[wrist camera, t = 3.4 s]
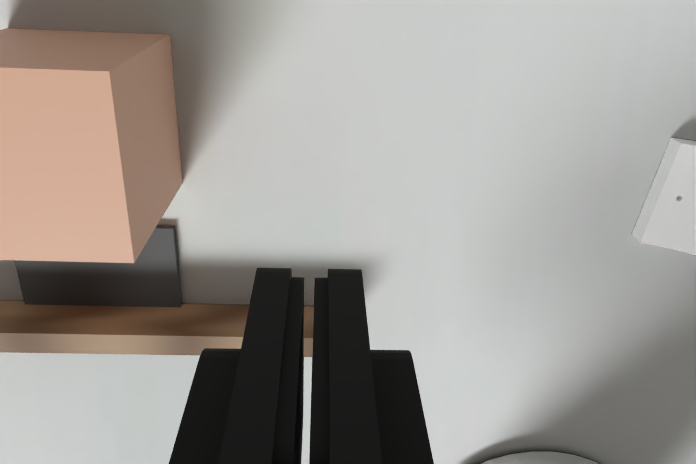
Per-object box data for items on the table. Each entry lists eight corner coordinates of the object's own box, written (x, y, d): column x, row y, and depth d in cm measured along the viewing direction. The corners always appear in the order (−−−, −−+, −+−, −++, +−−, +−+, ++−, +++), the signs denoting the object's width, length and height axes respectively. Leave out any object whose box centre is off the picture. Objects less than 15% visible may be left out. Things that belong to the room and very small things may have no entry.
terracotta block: (170, 34, 23) (109, 71, 17) (183, 182, 25) (134, 263, 19) (8, 28, 23) (-117, 63, 16) (37, 178, 25) (-60, 258, 19)
